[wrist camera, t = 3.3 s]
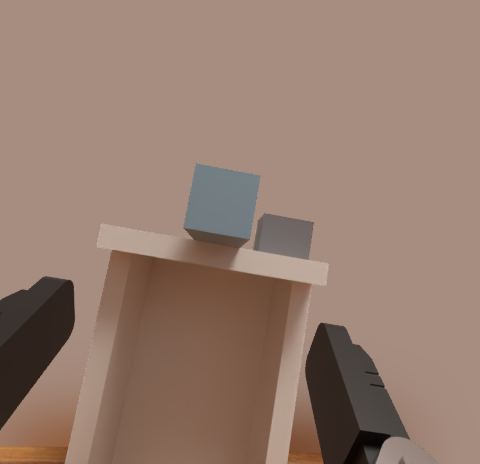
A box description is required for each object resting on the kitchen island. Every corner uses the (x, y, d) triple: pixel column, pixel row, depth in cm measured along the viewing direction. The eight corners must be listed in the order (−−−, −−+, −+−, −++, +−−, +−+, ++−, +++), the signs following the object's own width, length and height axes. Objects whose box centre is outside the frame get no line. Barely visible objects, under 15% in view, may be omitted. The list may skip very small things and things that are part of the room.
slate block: (183, 227, 18) (195, 163, 19) (202, 248, 40) (207, 218, 41) (249, 239, 19) (260, 175, 19) (232, 254, 40) (237, 224, 41)
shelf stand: (3, 653, 23) (101, 223, 26) (92, 493, 38) (145, 239, 42) (272, 681, 24) (328, 263, 27) (250, 514, 39) (288, 264, 43)
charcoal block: (257, 253, 30) (264, 213, 31) (252, 255, 35) (257, 220, 36) (308, 262, 30) (313, 222, 31) (295, 262, 35) (300, 228, 36)
